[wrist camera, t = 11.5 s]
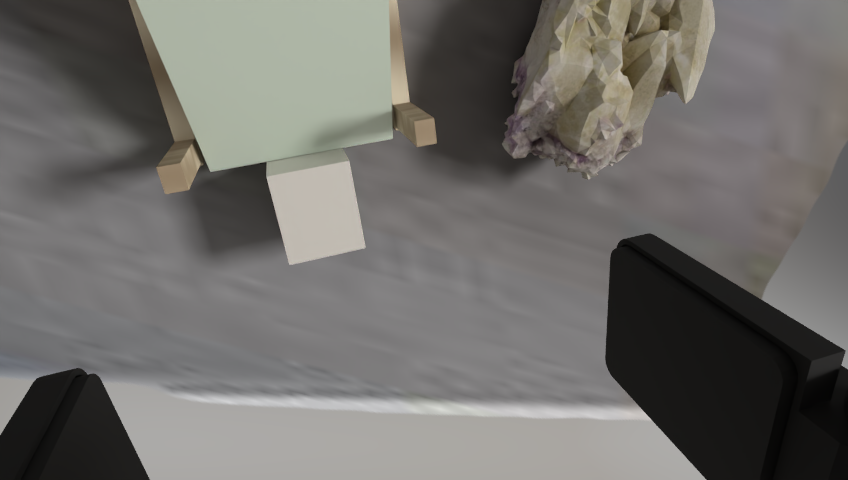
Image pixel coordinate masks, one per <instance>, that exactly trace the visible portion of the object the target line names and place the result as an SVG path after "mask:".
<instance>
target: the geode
mask: <svg viewBox="0 0 848 480" xmlns="http://www.w3.org/2000/svg"><path fill="white" fill-rule="evenodd" d="M714 30H715V19H714V8H713V3H712V0H542V4H541V7H540V11H539V15H538V19H537V23H536V27H535V29H534V31H533V33H532V36H531V38H530V41H529V44H528V45H527V47H526V51H525V53H524V55H523V56H522V57H521V58H519V59H518V60H517V61H516V62H515V64H514V74H513V78H512V81H511V83H518V86H517V87H516V88H515V89H514V90H513V91H512V94H513V98H515V97H518V96H519V97H518V101H517V103H516V104H515V111H514V114H512V115H511V116H510V117H509V118H507V121H506V122H505V124H506V125H507V126H508V130H507V131H506V132H505V133H504V134H505V139H504V141H503V143H502V145H503V147H504V149H505V150H506V151H507V152H508V153H509V154H510V155H511V156H512V157H513V158H514V159H516V158H524V157H526V156H527V154H529V153H530V152H531V153H532V154H534V155H540V156H539V157H540V158H541V159H544V158H548V159H549V160H550V159H553V158H554V161H555V164H556V167H557V166H561V165H566V166H567V168H568V171H567V172H581V173H582V177H583V178H585V179H587V180H589V179H590V178H591V177H595V176H598V173H597V172H598V171H599V170H600V169H602V168H604V167H605V166H608V165H610V166H613V164H614V163H617V162H619V161H620V160H621V159H623V157H625V156H626V155H627V154H628V153H629V152H630V151H629V150H630V149H632V148H635V147H638V146H640V145H641V142H642V135H643V125H644V122H645V120H646V118H647V117H648V115H649V112H650V110H651V108H652V106H653V103H654V99H655V98H657V97H662V96H664V95H665V94H666V95H668V94H669V92H677V93H678V95H679V97H680V98H681V100H682V101H683V103H685V104H686V103H687V102H688V101H689V100H691V99H692V98H693V95H694V92H695V89H696V86H697V84H698V81H699V79H700V76H701V74H702V71H703V69H704V66H705V61H706V56H707V52H708V48H709V44H710V40H711V38H712V35H713V33H714Z"/></svg>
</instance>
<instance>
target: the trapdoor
mask: <svg viewBox="0 0 848 480" xmlns="http://www.w3.org/2000/svg"><path fill="white" fill-rule="evenodd" d="M136 2H137V4H138V6H139V9H140V11H141V13H142V16H143V18H144V20H145V23H146V25H147V27H148V29H149V32H150V34H151V36H152V39H153V41H154V43H155V46H156V48H157V50H158V52H159V55H160V57H161V59H162V62H163V64H164V66H165V69H166V71H167V73H168V75H169V78H170V80H171V82H172V85H173V87H174V89H175V92H176V94H177V96H178V98H179V101H180V103H181V105H182V108H183V110H184V112H185V115H186V117H187V119H188V121H189V124H190V126H191V128H192V131H193V133H194V135H195V138H196V140H197V142H198V144H199V147H200V149H201V151H202V154H203V156H204V158H205V161H206V163H207V165H208V167H209V170H210V172H213V171H219V170H224V169H230V168H235V167H241V166H246V165H252V164H257V163H263V162H268V161H274V160H279V159H284V158H290V157H295V156H301V155H306V154H312V153H317V152H323V151H328V150H334V149H339V148H345V147H350V146H356V145H361V144H367V143H372V142H378V141H383V140H389V139H393V129H392V93H391V58H390V22H389V0H136Z"/></svg>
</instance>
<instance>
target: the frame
mask: <svg viewBox="0 0 848 480" xmlns="http://www.w3.org/2000/svg"><path fill="white" fill-rule="evenodd" d="M129 3H130V6H131V10H132V13H133V16H134V19H135V22H136V25H137V28H138V31H139V34H140V37H141V40H142V43H143V46H144V49H145V52H146V55H147V59H148V62H149V65H150V68H151V71H152V74H153V77H154V80H155V83H156V86H157V89H158V92H159V95H160V98H161V101H162V105H163V108H164V111H165V114H166V117H167V120H168V123H169V126H170V129H171V132H172V135H173V138H174V141H175V142H174V144H173V145H172V146H171V148H170V149H169V151H168V152H167V153H166V155H165V156H164V157H163V159H162V160H161V162H160V163H159V164H158V166H157V167H156V168H157V171H158V174H159V177H160V180H161V183H162V185H163V188H164V191H165V194H170V193H175V192H180V191H186V190H189V189H190V187H191V184H192V182H193V180H194V178H195V176H196V173H197V171H198V169H199V167H200V166H202V165H203V164H204V162H205V161H204V157H203V154H202V151H201V149H200V147H199V144H198V142H197V140H196V138H195V135H194V133H193V131H192V128H191V126H190V124H189V121H188V119H187V117H186V115H185V112H184V110H183V108H182V105H181V103H180V101H179V98H178V96H177V94H176V92H175V89H174V87H173V85H172V82H171V80H170V78H169V75H168V73H167V71H166V69H165V66H164V64H163V62H162V59H161V57H160V55H159V52H158V50H157V48H156V46H155V43H154V41H153V39H152V36H151V34H150V32H149V29H148V27H147V25H146V23H145V20H144V18H143V16H142V13H141V11H140V9H139V6H138V4H137V2H136V0H129ZM389 22H390V58H391V93H392V123H393V128H394V129H395V130H399V131H401V132H402V133H403V134H404V135H405V136H406V137H407V138H408V139H409V140H410V141H411V142H412V143H414V144H415V145H416V146H417V147H420V146H426V145H431V144H436V143H437V139H436V130H435V121H434V118H433V117H432V116H430V115H429V114H427V113H426V112H424V111H423V110H421V109H420V108H418V107H417V106H415V105H414V104H412V103H411V102H410V100H409V92H408V84H407V77H406V69H405V61H404V53H403V45H402V37H401V29H400V21H399V13H398V5H397V0H389Z"/></svg>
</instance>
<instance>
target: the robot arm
mask: <svg viewBox="0 0 848 480" xmlns="http://www.w3.org/2000/svg"><path fill="white" fill-rule="evenodd" d="M844 354H845V350H844V349H842V348H840V347H839V346H837V345H835V344H833V343H832V342H830V341H829V340H827V339H825V338H824V337H822V336H820V335H819V334H817V333H815V332H814V331H812V330H811V329H809V328H807V327H806V326H804V325H802V324H801V323H799V322H797V321H796V320H794V319H792V318H790V317H789V316H787V315H786V314H784V313H782V312H781V311H779V310H777V309H776V308H774V307H772V306H771V305H769V304H768V303H766V302H764V301H763V300H761V299H759V298H758V297H756V296H754V295H753V294H751V293H749V292H748V291H746V290H744V289H743V288H741V287H739V286H738V285H736V284H734V283H733V282H731V281H729V280H728V279H726V278H725V277H723V276H721V275H720V274H718V273H716V272H715V271H713V270H711V269H710V268H708V267H706V266H705V265H703V264H701V263H700V262H698V261H696V260H695V259H693V258H691V257H690V256H688V255H686V254H685V253H683V252H682V251H680V250H678V249H677V248H675V247H673V246H672V245H670V244H668V243H667V242H665V241H663V240H662V239H660V238H658V237H657V236H655V235H653V234H644V235H640V236H635V237H631V238H627V239H623V240H621V241H620V242H619V243H618V245H617V248H616V249H614V250H613V251H612V253H611V258H610V277H609V297H608V317H607V336H606V356H605V358H606V365H607V368H608V370H609V372H610V374H611V375H612V377H613V378H614V379H615V380H616V381H617V382H618V383H619V385H620V386H621V387H622V388H623V389H624V390H625V391H626V392H627V393H628V394H629V395H630V397H631V398H632V399H633V400H634V401H635V402H636V403H637V404H638V405H639V406H640V407H641V409H642V410H643V411H644V412H645V413H646V414H647V415H648V416H649V417H650V418H651V420H652V421H653V422H654V423H655V424H656V425H657V426H658V427H659V428H660V429H661V430H662V431H663V432H664V434H665V435H666V436H667V437H668V438H669V439H670V440H671V441H672V442H673V443H674V445H675V446H676V447H677V448H678V449H679V450H680V451H681V452H682V453H683V454H684V455H685V456H686V458H687V459H688V460H689V461H690V462H691V463H692V464H693V465H694V466H695V468H697V470H698V471H699V472H700V473H701V474H702V475H703V476H704V477H705V479H707V480H848V369H846V368H845V367H843V366H841V364H842V361H843V357H844ZM0 480H150V479H149V477H148V475H147V473H146V471H145V469H144V467H143V465H142V463H141V461H140V459H139V457H138V455H137V453H136V451H135V449H134V447H133V445H132V442H131V440H130V439H129V437H128V434H127V432H126V430H125V428H124V426H123V424H122V422H121V420H120V418H119V416H118V414H117V412H116V410H115V408H114V406H113V404H112V401H111V399H110V397H109V395H108V393H107V391H106V389H105V387H104V385H103V383H102V381H101V379H100V378H99V376H97V375H96V374H89V375H87V373H86V372H85V371H84V370H82V369H80V368H76V369H72V370H67V371H63V372H59V373H55V374H50V375H46V376H42V377H39V378H37V379H36V380H35V381H34V382H33V384H32V385H31V387H30V389H29V390H28V392H27V394H26V395H25V397H24V398H23V400H22V401H21V403H20V405H19V406H18V408H17V410H16V411H15V413H14V414H13V416H12V417H11V419H10V421H9V422H8V424H7V425H6V427H5V429H4V430H3V432H2V433H1V435H0Z"/></svg>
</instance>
